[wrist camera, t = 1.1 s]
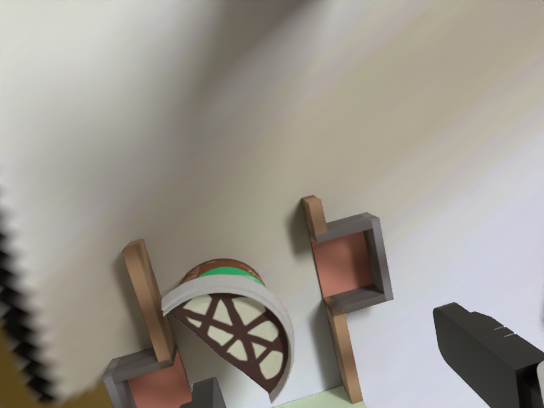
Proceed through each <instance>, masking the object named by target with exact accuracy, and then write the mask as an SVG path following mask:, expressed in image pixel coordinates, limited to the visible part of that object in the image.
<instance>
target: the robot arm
mask: <svg viewBox="0 0 544 408" xmlns="http://www.w3.org/2000/svg"><path fill="white" fill-rule="evenodd" d="M433 317H434V323H435V329H436V335H437V341H438V347H439V350H440V352H441V355H442V357H443V358H444V360H445V361H446V363H447V364H448V365H449V366H450V367H451V368H452V369H453V370H454V371H455V372H456V373H457V374H458V375H459V376H460V377H461V378H462V379H463V380H464V381H465V382H466V383H467V384H468V385H469V386H470V387H471V388H472V389H473V390H474V391H475V392H476V393H477V394H478V395H479V396H480V397H481V398H482V399H483V400H484V401H485V402H486V403H487V404H488V405H489V406H490V407H491V408H544V352H542V351H541V350H539V349H538V348H536V347H535V346H533V345H532V344H530V343H529V342H527V341H526V340H524V339H523V338H521V337H520V336H518V335H517V334H514V332H513V331H511V330H510V329H508V328H507V327H504V326H503V325H502V324H501V323H499V322H498V321H496V320H495V319H493V318H492V317H490V316H487V315H484V314H481V313H478V312H471V313H470V312H469V311H467V310H466V309H464V308H463V307H462V306H460V305H459V304H457V303H455V302H453V303H450V304H447V305H444V306H440V307H437V308H434V310H433ZM179 408H226V405H225V402H224V399H223V396H222V393H221V390H220V387H219V384H218V381H217V379H216V377H213V378H210V379H207V380H204V381H201V382H198V383H194V385H193V391H192V400H191V402H188V403H185V404H182V405H180V407H179Z"/></svg>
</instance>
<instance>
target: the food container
mask: <svg viewBox="0 0 544 408" xmlns="http://www.w3.org/2000/svg"><path fill="white" fill-rule="evenodd" d="M161 309H162V310H163V311H164V312H163V316H165V315H166V314H167V313H168V312H170V313H171V314H173V315H174V316H175V317H176V318H177V319H179V320H180V321H182V322H183V323H184V324H186V325H187V326H188V327H189V328H190V329H192V330H193V331H194V332H195V333H196V334H197V335H198V336H200V337H201V338H202V339H203V340H204V341H205V342H206V343H207V344H208V345H209V346H210V347H211V348H213V349H214V350H215V351H216V352H217V353H218V354H219V355H220V356H221V357H223V358H224V359H225V360H227V361H228V362H230V363H231V364H233V365H234V366H236V367H237V368H238V369H240V370H241V371H242V372H244V373H245V374H246V375H247V376H249V377H250V378H251V379H252V380H254V381H255V382H256V383H257V384H258V385H260V386H261V387H262V388H263V389H265V390H266V391H267V392H268V394H269V398H270V401H271V404H272V403H273V402H274V401H275V400H276V399H277V397H278V396H279V395H280V393H281V392H282V390H283V388H284V387H285V385H286V382H287V380H288V378H289V375H290V372H291V369H292V365H293V360H294V330H293V326H292V322H291V319H290V317H289V314H288V312H287V310H286V308H285V307H284V305H283V304H282V302H281V301H280V300H279V299H278V298H277V297H276V296H275V294H274V293H272V292H271V291H270V290H268V289H267V288H266V287H265V285H264V283H263V281H262V279H261V278H260V276H259V275H258V273H257V272H256V271H255V270H254V269H252V268H251V267H250V266H249V265H247V264H245V263H243V262H240V261H237V260H233V259H214V260H210V261H206V262H204V263H202V264H200V265H198V266H196V267H195V268H193V269H192V270H191V271H190V272H188V273H187V274H186V275H185V277H184V279H183V280H182V282H181V284H180V285H179V286H178V287H177V288H175V289H174V290H172V291H170V292H169V293H168V294H167V295H166V296H165V297H163V298H162V308H161Z"/></svg>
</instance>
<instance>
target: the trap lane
mask: <svg viewBox="0 0 544 408" xmlns="http://www.w3.org/2000/svg"><path fill="white" fill-rule="evenodd" d="M302 203H303V207H304V212H305V216H306V221H307V225H308V230H309V235H310V239H311V244H312V248H313V253H314V257H315V262H316V266H317V271H318V275H319V280H320V285H321V289H322V294H323V298H324V303H325V307H326V312H327V316H328V321H329V325H330V330H331V334H332V339H333V344H334V348H335V353H336V357H337V362H338V366H339V371H340V375H341V380H342V384H343V385H342V386H339V387H336V388H333V389H330V390H326V391H323V392H320V393H317V394H314V395H311V396H307V397H304V398H301V399H298V400H295V401H291V402H288V403H285V404H282V405H279V406H275V407H272V408H367V407H366V405H365V403H364V402H363V398H362V393H361V389H360V384H359V379H358V374H357V370H356V365H355V360H354V355H353V350H352V346H351V341H350V336H349V331H348V327H347V322H346V317H345V313H349V312H352V311H355V310H359V309H362V308H366V307H369V306H372V305H376V304H379V303H383V302H386V301H389V300H393V299H394V298H393V293H392V287H391V282H390V276H389V270H388V265H387V259H386V254H385V248H384V242H383V237H382V231H381V226H380V220H379V218H378V217H376V216H373V215H371V214H369V213H367V212H366V213H363V214H359V215H355V216H351V217H348V218H344V219H340V220H336V221H333V222H329V223H326V222H325V217H324V212H323V207H322V203H321V199H319V198H317V197H315V196H313V195H312V196H308V197H304V198H302ZM122 254H123V257H124V260H125V263H126V266H127V269H128V272H129V275H130V278H131V281H132V284H133V287H134V290H135V293H136V296H137V299H138V302H139V305H140V308H141V311H142V314H143V317H144V320H145V323H146V326H147V329H148V332H149V335H150V338H151V341H152V344H153V347H154V348H150V349H147V350H143V351H140V352H136V353H133V354H130V355H126V356H123V357H119V358H116V359H112V361H111V363H110V365H109V367H108V369H107V371H106V373H105V375H104V377H103V381H104V384H105V386H106V389H107V392H108V394H109V397H110V400H111V402H112V405H113V408H179V407H180V405H182V404H185V403H188V402H191V400H192V393H191V390H190V387H189V383H188V380H187V377H186V374H185V371H184V368H183V364H182V361H181V358H180V355H179V352H178V349H177V346H176V342H175V339H174V336H173V333H172V330H171V327H170V323H169V320H168V317H167V314H166V315H165V316H163V312H164V311H163V310H162V309H161V308H162V298H161V295H160V292H159V289H158V286H157V282H156V279H155V276H154V273H153V270H152V267H151V263H150V260H149V257H148V254H147V251H146V248H145V245H144V241H143V239H141V240H137V241H133V242H130V243H129V244H128V245H127V246H126V247H125V249H124V250H123V251H122Z"/></svg>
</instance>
